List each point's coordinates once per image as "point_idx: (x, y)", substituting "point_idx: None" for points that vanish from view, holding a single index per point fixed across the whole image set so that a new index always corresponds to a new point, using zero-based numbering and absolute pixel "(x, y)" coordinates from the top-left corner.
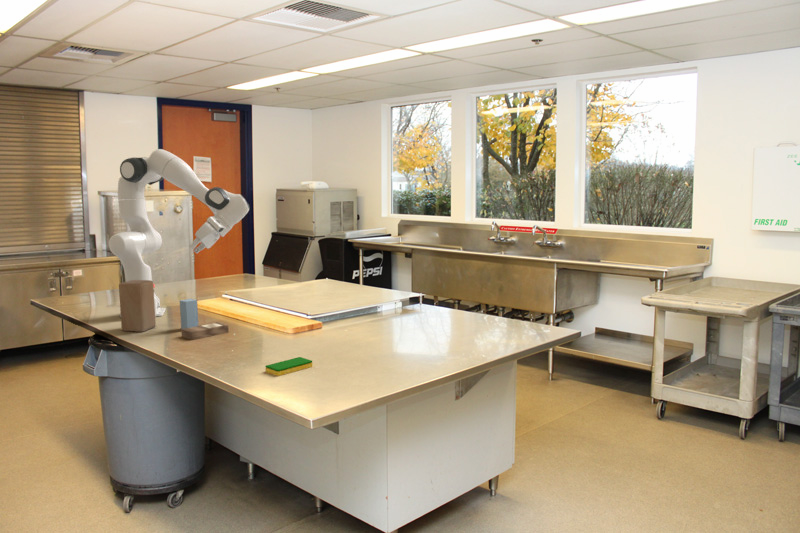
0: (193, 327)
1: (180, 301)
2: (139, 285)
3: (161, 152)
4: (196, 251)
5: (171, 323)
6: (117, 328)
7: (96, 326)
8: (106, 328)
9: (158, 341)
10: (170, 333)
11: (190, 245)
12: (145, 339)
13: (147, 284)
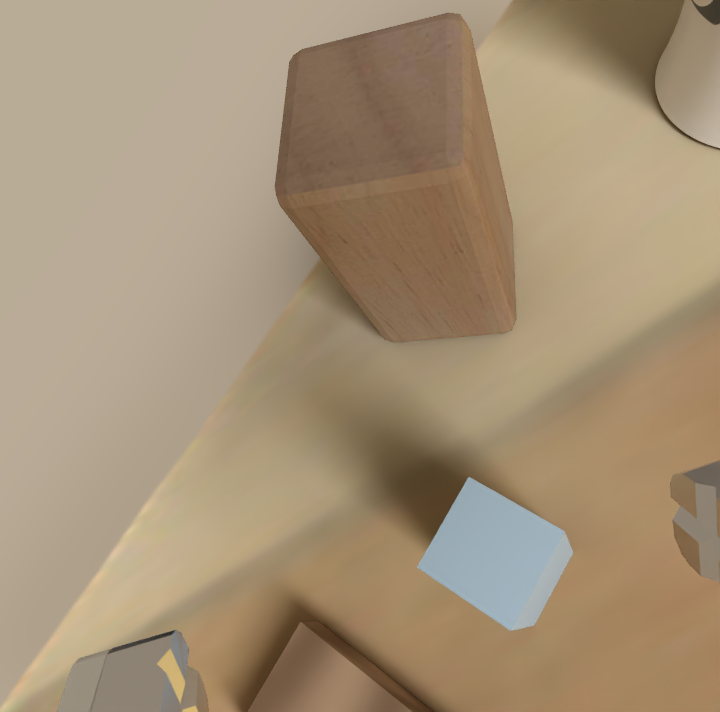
0: (351, 682)
1: (463, 488)
2: (278, 200)
3: None
4: (695, 549)
5: (629, 362)
6: None
7: None
8: None
9: (224, 540)
10: (385, 507)
11: (75, 684)
12: (258, 449)
13: (374, 195)
